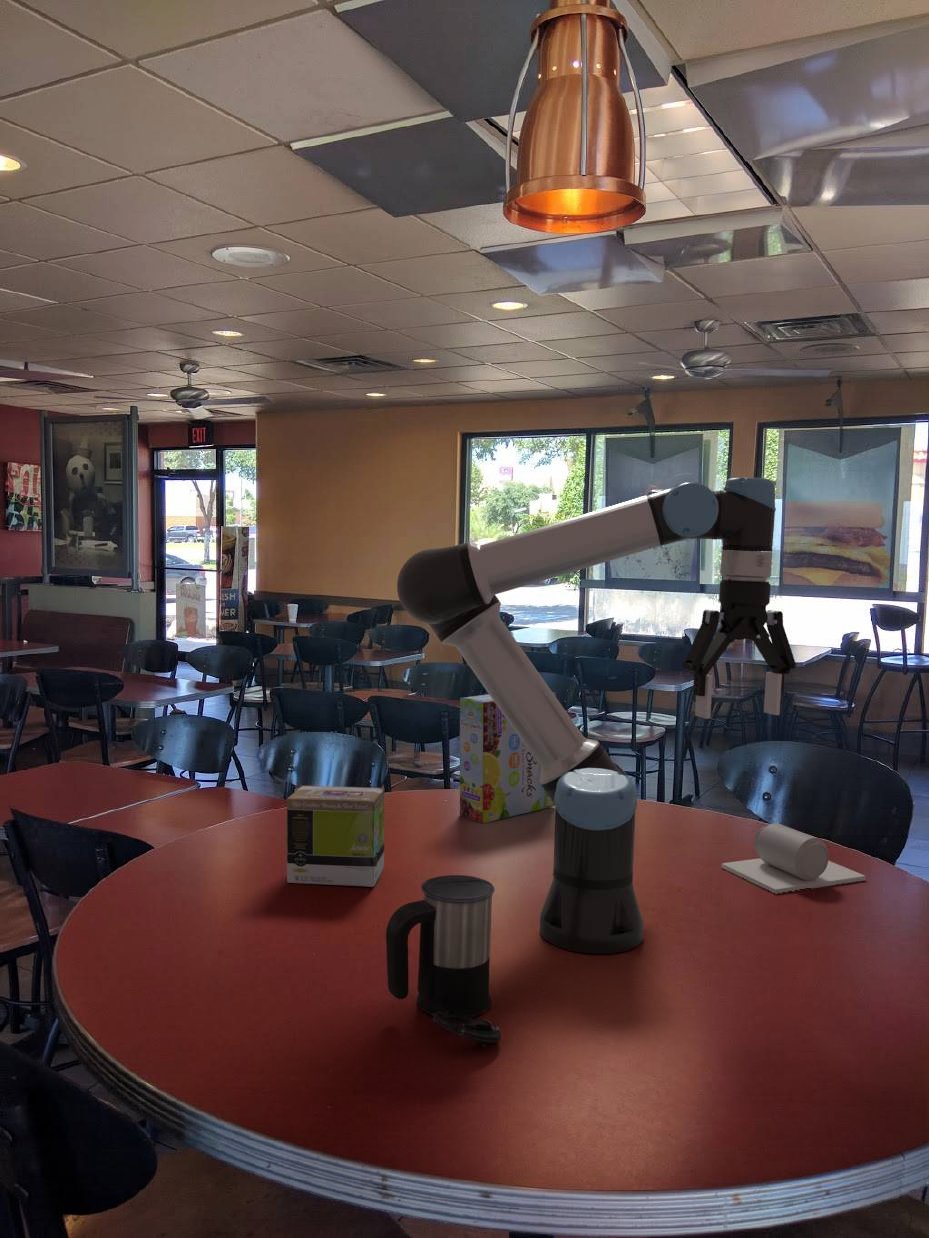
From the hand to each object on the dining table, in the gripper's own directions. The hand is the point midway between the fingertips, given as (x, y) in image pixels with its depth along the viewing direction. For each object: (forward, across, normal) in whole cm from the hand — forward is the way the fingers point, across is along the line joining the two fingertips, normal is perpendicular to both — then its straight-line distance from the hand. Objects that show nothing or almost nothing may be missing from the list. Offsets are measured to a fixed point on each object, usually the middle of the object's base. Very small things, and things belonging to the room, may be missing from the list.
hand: (737, 715), depth 148 cm
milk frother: (+32, -53, -16) cm, 64 cm away
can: (+27, +22, +4) cm, 35 cm away
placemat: (+31, +23, +10) cm, 40 cm away
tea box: (+32, -53, +37) cm, 72 cm away
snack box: (+32, -6, +64) cm, 72 cm away
